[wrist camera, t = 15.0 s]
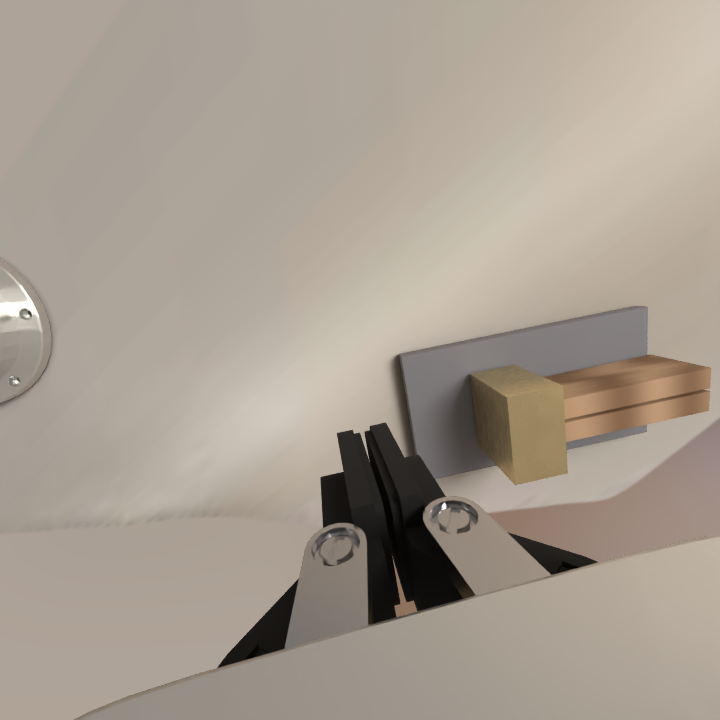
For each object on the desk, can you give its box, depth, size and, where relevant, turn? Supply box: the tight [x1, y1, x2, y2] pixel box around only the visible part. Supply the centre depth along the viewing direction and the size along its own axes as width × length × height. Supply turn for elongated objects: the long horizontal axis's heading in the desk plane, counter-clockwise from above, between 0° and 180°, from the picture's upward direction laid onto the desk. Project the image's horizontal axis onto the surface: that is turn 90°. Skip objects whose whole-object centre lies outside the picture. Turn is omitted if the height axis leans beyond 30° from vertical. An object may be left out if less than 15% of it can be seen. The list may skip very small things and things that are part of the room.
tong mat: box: [399, 306, 648, 479], centre depth 31 cm, size 22×12×1 cm, turn 101°
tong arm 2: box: [565, 390, 710, 442], centre depth 28 cm, size 15×2×5 cm, turn 101°
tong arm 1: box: [544, 355, 711, 419], centre depth 28 cm, size 15×2×5 cm, turn 101°
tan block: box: [470, 365, 568, 485], centre depth 27 cm, size 4×7×6 cm, turn 11°
